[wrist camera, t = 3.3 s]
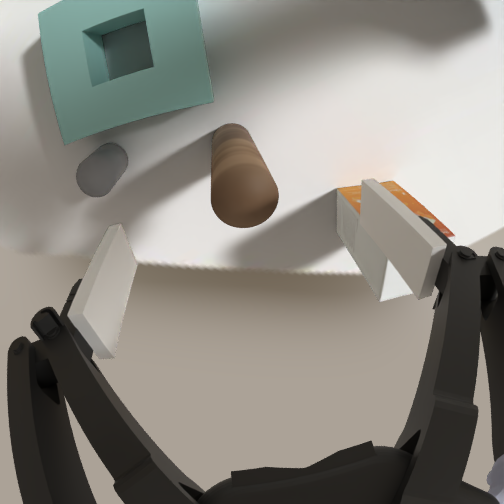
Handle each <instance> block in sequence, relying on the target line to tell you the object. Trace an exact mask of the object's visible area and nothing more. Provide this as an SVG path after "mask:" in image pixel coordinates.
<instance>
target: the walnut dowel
mask: <svg viewBox="0 0 504 504" xmlns="http://www.w3.org/2000/svg"><path fill="white" fill-rule="evenodd" d="M278 198H279V193H278V188H277V185H276V183H275V181H274V179H273V177H272V175H271V174H270V172H269V170H268V168H267V166H266V164H265V162H264V160H263V158H262V156H261V154H260V153H259V151H258V149H257V147H256V145H255V143H254V141H253V140H252V138H251V136H250V134H249V132H248V131H247V130H246V129H245V128H244V127H243V126H241V125H239V124H233V123H231V124H226V125H223V126H221V127H220V128H218V129H217V130H216V132H215V133H214V135H213V138H212V159H211V205H212V208H213V210H214V212H215V214H216V216H217V217H218V218H219V219H220V220H221V221H223V222H224V223H226V224H228V225H230V226H233V227H237V228H249V227H254V226H257V225H259V224H261V223H263V222H264V221H266V220H267V219H268V218H269V217H270V216H271V215H272V214H273V212H274V211H275V209H276V207H277V204H278Z"/></svg>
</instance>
